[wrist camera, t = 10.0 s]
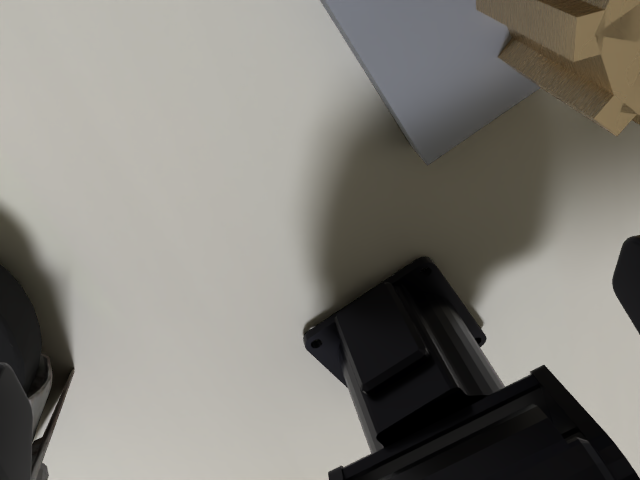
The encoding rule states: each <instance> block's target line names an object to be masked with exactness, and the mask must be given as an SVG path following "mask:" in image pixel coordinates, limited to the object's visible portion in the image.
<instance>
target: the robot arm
mask: <svg viewBox="0 0 640 480" xmlns="http://www.w3.org/2000/svg"><path fill="white" fill-rule="evenodd" d="M426 267H427V268H426ZM423 268H426V269H425V270H424V271H421V270H422V269H423ZM612 284H613V289H614V292H615V294H616V296H617V298H618V299H619V301H620V303H621V304H622V306H623V308H624V309H625V311H626V313H627V314H628V316H629V318H630V319H631V321H632V323H633V324H634V326H635V327H636V329H637V331H638V332H639V334H640V235H637V236H632V237H630V238H628V239H627V240H626V241H625V242H624V243H623V245H622V248H621V251H620V255H619V258H618V261H617V265H616V268H615V271H614V275H613V279H612ZM316 339H319V340H318V341H315V342H312V341H314V340H316ZM303 341H304V345H305V348H306V349H307V351H309V352H310V353H311V354H312V355H313V356H314V357H315V358H316V359H317V360H318V361H319V362H320V363H321V364H323V365H324V366H325V367H326V368H327V369H328V370H329V371H330V372H331V373H332V374H333V375H334V376H335V377H337V378H338V379H339V380H340V381H341V382H342V383H343V384H344V385H345V386H346V387H347V388H348V389H349V392H350V395H351V398H352V400H353V403H354V406H355V409H356V412H357V414H358V417H359V420H360V423H361V426H362V429H363V431H364V434H365V437H366V440H367V443H368V445H369V448H370V451H371V454H370V455H368V456H366V457H363V458H361V459H359V460H357V461H355V462H353V463H351V464H349V465H347V466H345V467H343V466H340V467H338V468H336V469H334V470H332V471H330V472H328V475H329V480H640V478H639V477H638V475H637V473H636V472H635V470H634V469H633V468H632V466H631V465H630V463H629V462H628V460H627V459H626V458H625V456H624V455H623V454H622V452H621V451H620V450H619V448H618V447H617V446H616V444H615V443H614V442H613V441H612V439H611V438H610V437H609V436H608V435H607V434H606V432H605V431H604V430H603V429H602V428H601V427H600V426H599V425H598V424H597V423H596V421H595V420H594V419H593V418H592V417H591V416H590V415H589V414H588V413H587V411H586V410H585V409H584V408H583V407H582V406H581V405H580V404H579V403H578V402H577V400H576V399H575V398H574V397H573V396H572V395H571V394H570V393H569V392H568V391H567V389H566V388H565V387H564V386H563V385H562V384H561V383H560V382H559V381H558V380H557V378H556V377H555V376H554V375H553V374H552V373H551V372H550V371H549V370H548V369H547V367H546V366H545V365H542V366H540V367H538V368H536V369H534V370H532V371H530V373H531V374H530V375H528V376H526V377H524V378H522V379H520V380H518V381H516V382H514V383H512V384H510V385H508V386H506V387H505V386H504V384H503V383H502V381H501V380H500V378H499V377H498V375H497V373H496V372H495V370H494V369H493V367H492V366H491V364H490V362H489V361H488V359H487V358H486V356H485V355H484V353H483V352H482V350H481V348H480V347H481V346H482V345H484V343H485V342H486V336H485V334H484V333H483V331H482V330H481V328H480V327H479V325H478V324H477V323H476V321H475V320H474V318H473V317H472V315H471V314H470V313H469V311H468V310H467V308H466V307H465V306H464V304H463V303H462V301H461V300H460V299H459V297H458V296H457V294H456V293H455V292H454V290H453V289H452V287H451V286H450V284H449V283H448V282H447V280H446V279H445V277H444V276H443V275H442V273H441V272H440V270H439V269H438V268H437V266H436V265H435V263H434V262H433V260H432V259H430V258H429V257H421V258H419V259H417V260H415V261H414V262H412V263H411V264H409V265H408V266H406V267H404V268H403V269H401V270H400V271H398V272H397V273H395V274H394V275H392V276H391V277H389V278H388V279H386V280H385V281H383V282H382V283H380V284H379V285H377V286H376V287H374V288H373V289H371V290H370V291H368V292H367V293H365V294H364V295H362V296H361V297H359V298H358V299H356V300H355V301H353V302H352V303H350V304H349V305H347V306H346V307H344V308H343V309H341V310H340V311H338V312H336V313H335V314H333V315H332V316H330V317H329V318H327V319H326V320H324V321H323V322H321V323H320V324H318V325H317V326H315V327H314V328H312V329H311V330H309V331H308V332H307V333H306V334H305V335H304V337H303ZM32 433H33V413H32V407H31V404H30V402H29V399H28V398H27V396H26V394H25V392H24V390H23V388H22V386H21V384H20V382H19V380H18V379H17V377H16V375H15V373H14V371H13V369H12V368H11V367H10V366H9V365H8V364H7V363H3V362H1V363H0V480H31V458H32Z"/></svg>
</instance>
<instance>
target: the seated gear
mask: <svg viewBox="0 0 640 480" xmlns="http://www.w3.org/2000/svg"><path fill="white" fill-rule="evenodd" d="M476 10H478V11H479V12H481V13H483V14H485V15H487V16H489V17H491V18H493V19H494V20H496V21H498V22H500V23H502V24H504V25H506V26H507V28H508V30H509V33H510V35H511V39H510V41H509V42H508V43H507V45H506V46H505V47H504V49H503V50H502V51H501V53H500V54H499V55H498V58H499V59H501V60H502V61H503V62H505V63H506V64H507V65H509V66H510V67H511V68H512V69H514V70H515V71H516V72H518V73H519V74H521V75H522V76H524V77H525V78H527V79H528V80H530V81H532V82H533V83H535V84H536V85H538V86H539V87H541V88H542V89H544V90H545V91H547V92H549V93H550V94H552V95H553V96H555V97H556V98H558V99H559V100H561V101H562V102H564V103H566V104H567V105H569V106H570V107H572V108H573V109H575V110H576V111H578V112H579V113H581V114H583V115H584V116H586V117H587V118H589V119H590V120H592V121H593V122H595V123H596V124H598V125H600V126H601V127H603V128H604V129H606V130H607V131H609V132H610V133H612V134H613V135H615V136H618V135H619V134H620V132H621V131H622V130H623V129H624V128H625V127H626V126H627V125H628V124H629V122H630V121H631V120H633V121H634V122H636V123H638V124H639V125H640V0H476Z"/></svg>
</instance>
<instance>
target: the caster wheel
mask: <svg viewBox="0 0 640 480" xmlns="http://www.w3.org/2000/svg"><path fill="white" fill-rule="evenodd" d="M41 345H42V341H41V333H40V326H39V323H38V320H37V317H36V313H35V310H34V307H33V305H32V303H31V301H30V300H29V298H28V297H27V295H26V293H25V292H24V290H23V288H22V287H21V285H20V284H19V283H18V282H17V281H16V279H15V278H14V277H13V276H12V275H11V274H10V273H9V271H8V270H6V269H5V268H4V267H3V266H2V265H1V264H0V363H1V362H3V363H7V364H8V365H9V366H10V367H11V368H12V369H13V371H14V373H15V375H16V377H17V379H18V380H19V382H20V384H21V386H22V388H23V390H24V392H25V394H26V396H27V398H28V399H29V402H30V404H31V407H32V413H33V433H32V442H33V439H34V436H35V432H36V429H37V426H38V423H39V420H40V417H41V414H42V411H43V409H44V406H45V403H46V400H47V398H48V395H49V392H50V389H51V384H52V367H51V362H50V357H49V356H47V355H45V354H42V353H41ZM73 374H74V369H73V370H72V371H71V373H70V376H69V378H68V380H67V382H66V385H65V387H64V389H63V391H62V394H61V396H60V398H59V401H58V403H57V405H56V407H55V410H54V412H53V414H52V417H51V419H50V421H49V423H48V426H47V428H46V430H45V432H44V435H43V437H41V438H39V439H37V440H35V441H34V442H33V444H32V458H31V480H47V479H48V476H49V475H48V470H47V466H46V465H45V464H44V463H42V461H43V458H44V456H45V453H46V450H47V447H48V444H49V442H50V439H51V436H52V433H53V430H54V428H55V425H56V422H57V419H58V416H59V414H60V411H61V408H62V405H63V402H64V400H65V397H66V394H67V391H68V388H69V386H70V383H71V380H72V377H73Z"/></svg>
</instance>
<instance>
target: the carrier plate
mask: <svg viewBox="0 0 640 480" xmlns="http://www.w3.org/2000/svg"><path fill="white" fill-rule="evenodd" d="M320 1H321V2H322V4H323V5H324V7H325V9H326V10H327V12H328V13H329V15H330V17H331V18H332V20H333V21H334V23H335V25H336V26H337V28H338V29H339V31H340V33H341V34H342V36H343V37H344V39H345V41H346V42H347V44H348V45H349V47H350V49H351V50H352V52H353V53H354V55H355V57H356V58H357V60H358V61H359V63H360V65H361V66H362V68H363V69H364V71H365V73H366V74H367V76H368V77H369V79H370V81H371V82H372V84H373V85H374V87H375V89H376V90H377V92H378V93H379V95H380V97H381V98H382V100H383V101H384V103H385V105H386V106H387V108H388V109H389V111H390V113H391V114H392V116H393V117H394V119H395V121H396V122H397V124H398V125H399V127H400V129H401V130H402V132H403V133H404V135H405V137H406V138H407V140H408V141H409V143H410V145H411V146H412V148H413V149H414V150H415V151H416V152H417V154H418V155H419V156H420V157H421V158H422V160H423V161H424V162H425V163H426V164H427V165H429V164H430V163H432V162H433V161H435V160H436V159H438V158H439V157H440V156H442V155H443V154H445V153H446V152H448V151H449V150H451V149H452V148H453V147H455V146H456V145H458V144H459V143H461V142H462V141H464V140H465V139H467V138H468V137H469V136H471V135H472V134H474V133H475V132H477V131H478V130H480V129H481V128H483V127H484V126H485V125H487V124H488V123H490V122H491V121H493V120H494V119H496V118H497V117H498V116H500V115H501V114H503V113H504V112H506V111H507V110H509V109H510V108H512V107H513V106H514V105H516V104H517V103H519V102H520V101H522V100H523V99H525V98H526V97H528V96H529V95H530V94H532V93H533V92H535V91H536V90H538V89H539V88H541V87H539V86H538V85H536V84H535V83H533V82H532V81H530V80H528V79H527V78H525V77H524V76H522V75H521V74H519V73H518V72H516V71H515V70H514V69H512V68H511V67H510V66H509V65H507V64H506V63H505V62H503V61H502V60H501V59H499V58H498V55H499V54H500V53H501V51H502V50H503V49H504V47H505V46H506V45H507V43H508V42H509V41H510V39H511V35H510V33H509V30H508V28H507V26H506V25H504V24H502V23H500V22H498V21H496V20H494V19H493V18H491V17H489V16H487V15H485V14H483V13H481V12H479V11H478V10H476V0H320Z"/></svg>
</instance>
